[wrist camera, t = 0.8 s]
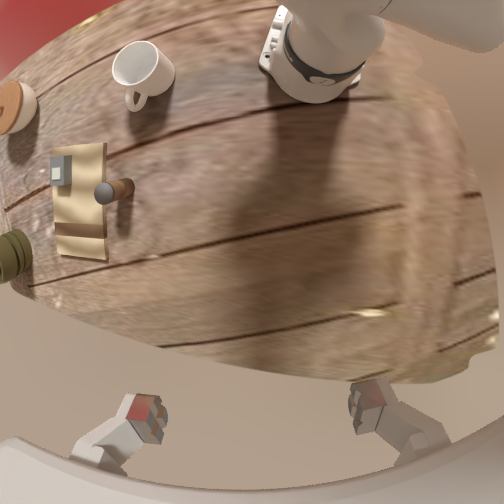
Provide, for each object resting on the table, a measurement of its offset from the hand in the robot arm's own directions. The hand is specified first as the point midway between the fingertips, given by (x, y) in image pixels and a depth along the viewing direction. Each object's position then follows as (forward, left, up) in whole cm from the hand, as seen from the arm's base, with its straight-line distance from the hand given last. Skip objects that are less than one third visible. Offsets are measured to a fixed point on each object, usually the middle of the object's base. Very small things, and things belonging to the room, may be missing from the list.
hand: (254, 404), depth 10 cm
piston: (+13, -62, -43) cm, 76 cm away
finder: (-7, -41, -41) cm, 58 cm away
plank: (0, -38, -43) cm, 57 cm away
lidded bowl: (-23, -57, -43) cm, 75 cm away
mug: (-23, -22, -43) cm, 53 cm away
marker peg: (-3, -26, -43) cm, 50 cm away
